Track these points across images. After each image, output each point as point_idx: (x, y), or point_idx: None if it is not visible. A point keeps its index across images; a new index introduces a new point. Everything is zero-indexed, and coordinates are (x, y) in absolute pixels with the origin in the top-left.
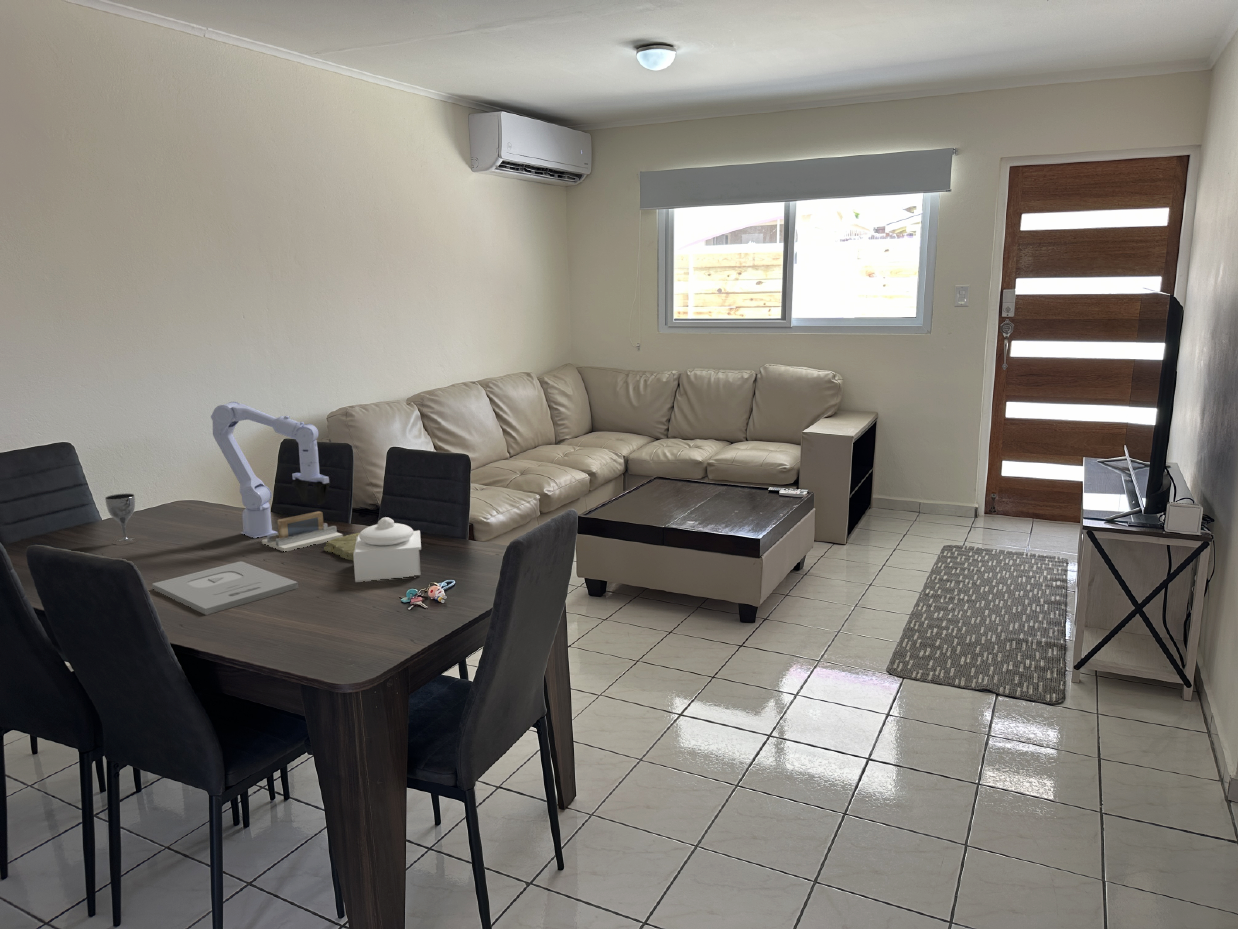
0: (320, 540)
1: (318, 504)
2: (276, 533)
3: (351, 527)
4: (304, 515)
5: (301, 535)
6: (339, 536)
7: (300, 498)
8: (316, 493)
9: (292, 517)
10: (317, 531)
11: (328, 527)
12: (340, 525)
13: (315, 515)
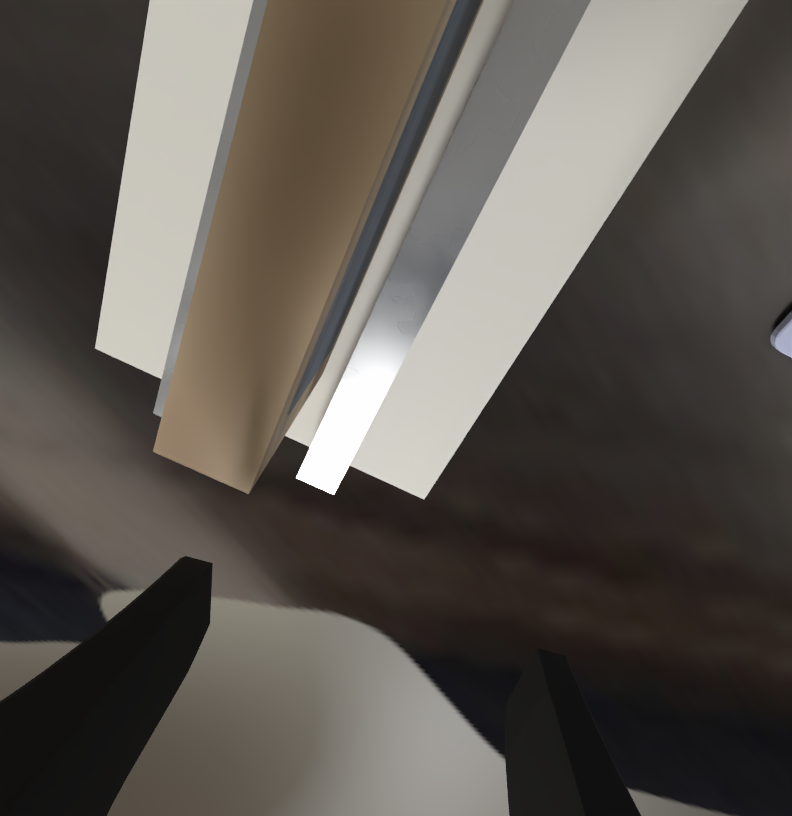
0: (132, 133)
1: (197, 561)
2: (776, 328)
3: (263, 565)
4: (256, 251)
5: (254, 22)
6: (107, 317)
7: (571, 705)
8: (39, 724)
9: (361, 48)
10: (198, 232)
11: None
12: (364, 594)
13: (185, 358)
